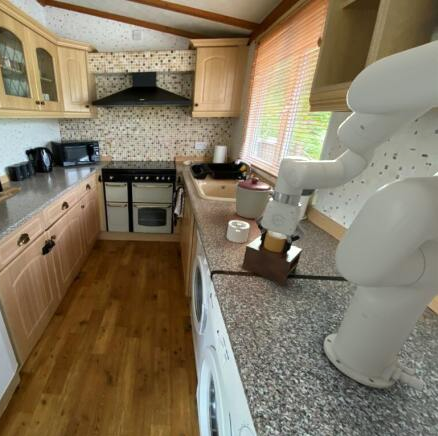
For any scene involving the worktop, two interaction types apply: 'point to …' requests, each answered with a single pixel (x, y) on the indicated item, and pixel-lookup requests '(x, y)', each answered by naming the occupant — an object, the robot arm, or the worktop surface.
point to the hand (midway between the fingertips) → (274, 246)
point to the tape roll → (275, 241)
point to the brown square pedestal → (270, 261)
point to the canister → (251, 198)
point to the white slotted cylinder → (238, 231)
